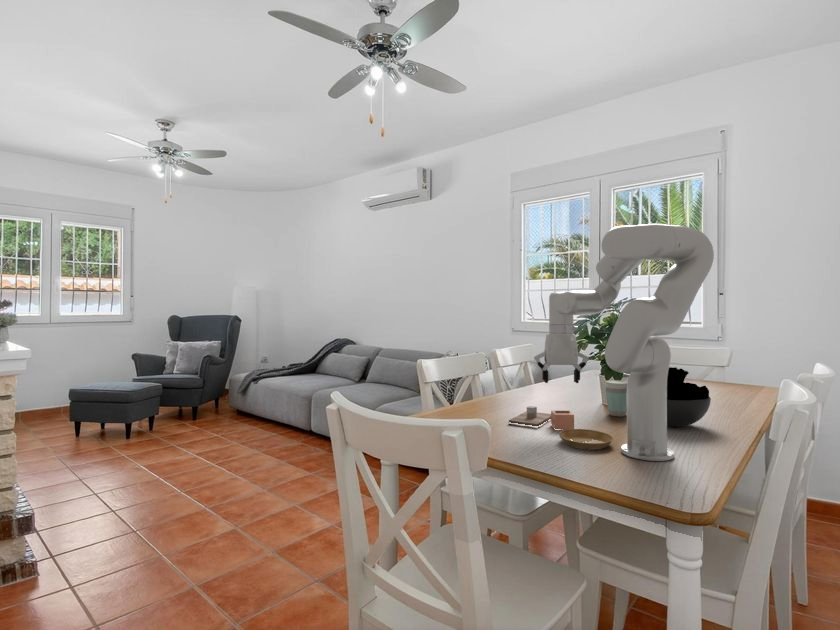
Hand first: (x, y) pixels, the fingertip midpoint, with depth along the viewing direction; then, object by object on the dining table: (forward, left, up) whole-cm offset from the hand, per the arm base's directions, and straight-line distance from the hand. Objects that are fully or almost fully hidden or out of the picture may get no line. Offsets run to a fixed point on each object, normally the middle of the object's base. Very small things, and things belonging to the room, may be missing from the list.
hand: (561, 382), depth 148 cm
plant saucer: (-14, -11, -15) cm, 24 cm away
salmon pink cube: (0, 0, -15) cm, 15 cm away
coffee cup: (+29, -11, -15) cm, 34 cm away
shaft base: (+3, +11, -15) cm, 19 cm away
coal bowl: (+22, -30, -15) cm, 40 cm away
